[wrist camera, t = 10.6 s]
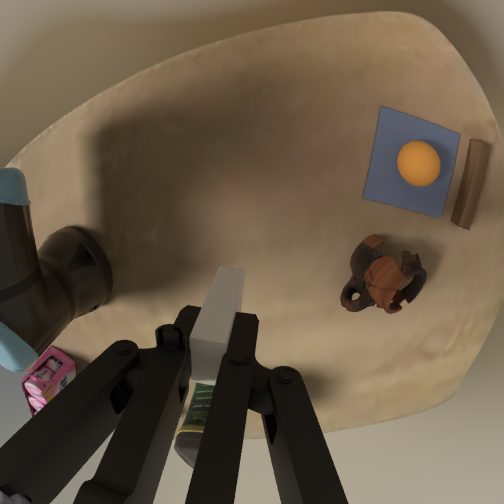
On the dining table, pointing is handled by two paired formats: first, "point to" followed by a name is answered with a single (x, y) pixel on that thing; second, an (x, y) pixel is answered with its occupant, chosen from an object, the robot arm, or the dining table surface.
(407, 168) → the ball
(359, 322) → the dining table surface
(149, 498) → the robot arm
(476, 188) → the stopper strip
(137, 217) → the dining table surface
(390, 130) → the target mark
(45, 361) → the gum box
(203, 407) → the coffee jar
